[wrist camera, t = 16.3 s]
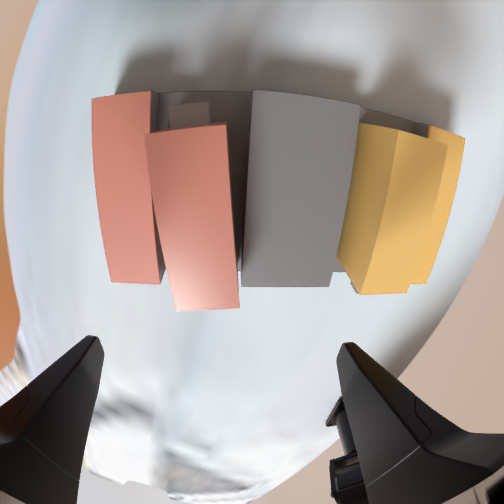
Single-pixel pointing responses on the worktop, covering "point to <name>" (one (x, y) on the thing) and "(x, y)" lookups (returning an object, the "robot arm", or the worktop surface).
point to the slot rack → (252, 182)
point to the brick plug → (195, 208)
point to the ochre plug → (389, 207)
